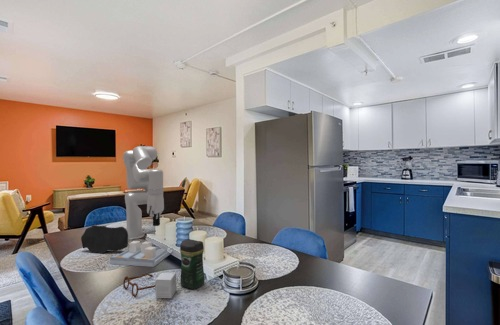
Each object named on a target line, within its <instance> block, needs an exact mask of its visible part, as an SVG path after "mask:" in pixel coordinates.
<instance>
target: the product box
mask: <svg viewBox="0 0 500 325" xmlns="http://www.w3.org/2000/svg"><path fill="white" fill-rule="evenodd" d="M155 284H156V286H155V299H156V298H171V299H172V298H173V297H174V295H175V293H176V291H177V273H176V272H161V273H160V274H159V275H158V276H157V277H156V279H155Z"/></svg>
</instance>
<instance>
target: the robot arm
mask: <svg viewBox="0 0 500 325" xmlns="http://www.w3.org/2000/svg"><path fill="white" fill-rule="evenodd" d="M157 156H158V151H157V148H155V147H154V146H148V145H147V146H144V145H138V146H135V147H133V149H130V150H126V151H124V152H123V153H122V160H123V163H124V166H125V169H126V187H127V188H128V189H129V190H133V191H128V192H127V193H125V195H124V203H125V207H126V208H125V209H126V230H127V231H128V241H131V240H133V241H134V240H139V239H141V238H144V237H145V233H143V232H145V231H146V228H145V227H143V221H142V220H143V217H142V216H143V215H142V213H143V211H142V209H141V208H140V207H139V205H146V213H147V214H148V215H149V217H151V218H152V226H153V227H158V226H160V224H161V215H162V213H163V212H164V210H165V199H164V171H163V170H162V169H159V168H149V167H151V165H152V164H153V163H152V162H153V161H154V160H156V159H157ZM142 189H143V190H142Z"/></svg>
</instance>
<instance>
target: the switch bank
mask: <svg viewBox="0 0 500 325" xmlns="http://www.w3.org/2000/svg"><path fill="white" fill-rule="evenodd" d="M155 247H156V257H154V258H153V259H148V258H145V253H141V249H140V250H139V251H137V252H135V253H134V252H130V249H129V248H128V249H126V250H125V251H122V252H120V253H119V254H117V255H114V256H113V255H112V256H110V257H109V263H110V265H121V266H122V265H123V266H136V267H149V268H153V267H155V266H157V265H158V264H159V263H161V262H163V260H165V259H166V258H168V256H170V255H171V254H169V252H168V251H167V248H160V246H155ZM164 249H166V250H164Z"/></svg>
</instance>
